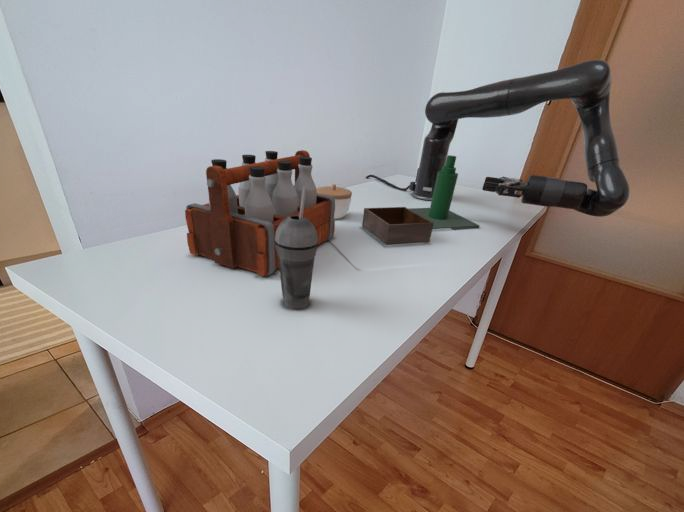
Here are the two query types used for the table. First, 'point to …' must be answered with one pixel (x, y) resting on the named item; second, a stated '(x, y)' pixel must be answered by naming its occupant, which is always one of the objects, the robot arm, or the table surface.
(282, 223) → the beverage cup
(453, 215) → the mat
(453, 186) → the bottle
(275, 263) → the milk bottle holder
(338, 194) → the trinket box
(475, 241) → the table surface
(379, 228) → the open wooden box
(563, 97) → the robot arm
